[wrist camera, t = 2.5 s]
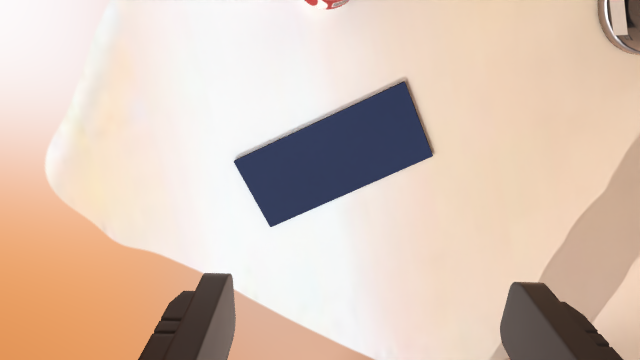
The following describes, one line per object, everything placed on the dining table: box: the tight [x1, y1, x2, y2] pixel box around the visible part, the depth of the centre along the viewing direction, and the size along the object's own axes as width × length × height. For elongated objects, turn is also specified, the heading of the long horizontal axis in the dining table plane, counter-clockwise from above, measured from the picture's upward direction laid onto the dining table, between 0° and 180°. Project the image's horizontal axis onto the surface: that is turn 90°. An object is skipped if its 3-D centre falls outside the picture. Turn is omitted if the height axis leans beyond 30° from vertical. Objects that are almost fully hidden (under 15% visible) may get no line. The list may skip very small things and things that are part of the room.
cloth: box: [234, 82, 433, 227], centre depth 34 cm, size 16×7×1 cm, turn 115°
